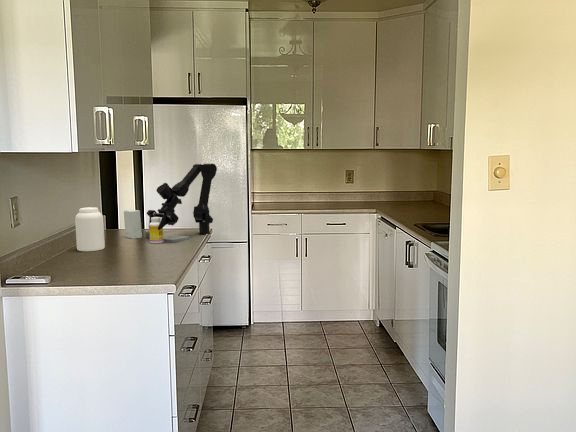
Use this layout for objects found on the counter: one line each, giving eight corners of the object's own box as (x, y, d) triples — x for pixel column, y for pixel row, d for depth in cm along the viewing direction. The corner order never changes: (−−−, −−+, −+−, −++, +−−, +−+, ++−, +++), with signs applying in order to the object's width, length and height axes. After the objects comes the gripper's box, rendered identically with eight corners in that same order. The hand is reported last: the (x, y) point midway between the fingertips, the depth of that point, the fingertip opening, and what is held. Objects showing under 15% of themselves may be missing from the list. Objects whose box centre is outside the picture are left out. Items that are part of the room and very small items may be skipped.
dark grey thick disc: (145, 237, 292) (145, 231, 291) (161, 236, 293) (160, 230, 293) (144, 239, 284) (144, 233, 283) (160, 238, 285) (160, 232, 285)
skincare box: (142, 237, 289) (141, 210, 288) (132, 239, 285) (130, 211, 283) (134, 236, 295) (133, 209, 294) (124, 237, 291) (123, 210, 289)
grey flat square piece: (174, 237, 290) (174, 234, 290) (189, 238, 283) (189, 236, 283) (156, 240, 281) (156, 238, 281) (172, 242, 274) (172, 239, 274)
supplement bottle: (159, 243, 269) (158, 218, 268) (147, 243, 271) (146, 218, 269) (165, 241, 276) (164, 216, 274) (153, 241, 277) (152, 216, 276)
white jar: (104, 250, 253) (102, 208, 250) (76, 252, 249) (73, 209, 247) (105, 246, 265) (102, 205, 262) (77, 248, 261) (75, 207, 258)
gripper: (190, 216, 279) (175, 240, 271) (166, 214, 290) (151, 237, 282) (178, 202, 271) (162, 226, 264) (154, 200, 282) (138, 224, 275)
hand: (153, 229), depth 271 cm, fingers closed on supplement bottle, 7 cm apart
